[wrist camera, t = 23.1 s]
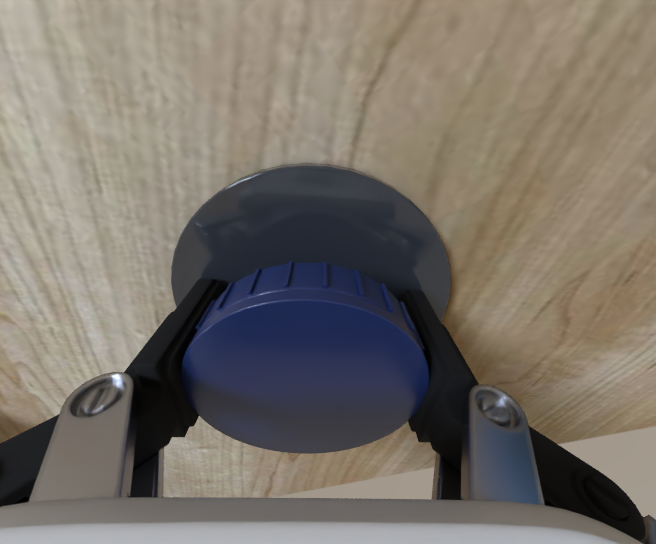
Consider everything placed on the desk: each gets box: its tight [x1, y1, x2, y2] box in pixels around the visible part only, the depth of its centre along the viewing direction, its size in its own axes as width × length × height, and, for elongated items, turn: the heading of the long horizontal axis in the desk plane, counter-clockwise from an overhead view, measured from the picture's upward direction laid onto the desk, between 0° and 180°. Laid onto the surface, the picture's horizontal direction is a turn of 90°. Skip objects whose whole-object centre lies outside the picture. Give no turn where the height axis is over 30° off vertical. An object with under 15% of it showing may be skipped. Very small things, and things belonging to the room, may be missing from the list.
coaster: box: [171, 163, 451, 322], centre depth 11 cm, size 11×11×1 cm
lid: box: [180, 261, 430, 453], centre depth 8 cm, size 7×7×2 cm
